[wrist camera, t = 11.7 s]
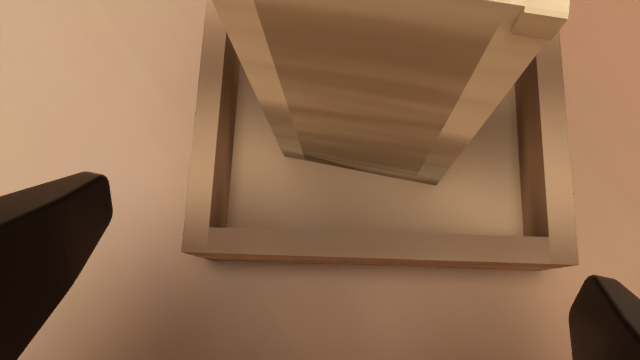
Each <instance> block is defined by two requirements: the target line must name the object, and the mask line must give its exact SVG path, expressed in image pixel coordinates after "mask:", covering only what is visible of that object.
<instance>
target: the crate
mask: <svg viewBox="0 0 640 360" xmlns="http://www.w3.org/2000/svg"><path fill="white" fill-rule="evenodd" d="M181 252H183V253H187V254H190V255H194V256H198V257H201V258H205V259H211V260H241V261H271V262H302V263H332V264H362V265H393V266H423V267H453V268H483V269H514V270H547V269H554V268H561V267H568V266H574V265H579V261H578V249H577V237H576V225H575V213H574V201H573V189H572V177H571V165H570V153H569V141H568V129H567V117H566V105H565V93H564V81H563V69H562V57H561V45H560V33H559V31H558V32H557V33H556V35H555V36H554V37H553V39H552V40H551V41H550V40H547V42H546V43H545V44H544V45H543V47H542V48H541V49H540V51H539V52H538V53H537V55H536V56H535V57H534V59H533V60H532V61H531V62H530V64H529V65H528V66H527V68H526V69H525V70H524V72H523V73H522V74H521V76H520V77H519V78H518V79H517V81H516V82H515V83H514V85H513V86H512V87H511V89H510V90H509V91H508V92H507V94H506V95H505V96H504V98H503V99H502V100H501V102H500V103H499V104H498V106H497V107H496V108H495V109H494V111H493V112H492V113H491V115H490V116H489V117H488V119H487V120H486V121H485V123H484V124H483V125H482V126H481V128H480V129H479V130H478V132H477V133H476V134H475V136H474V137H473V138H472V140H471V141H470V142H469V143H468V145H467V146H466V147H465V149H464V150H463V151H462V153H461V154H460V155H459V157H458V158H457V159H456V160H455V162H454V163H453V164H452V166H451V167H450V168H449V170H448V171H447V172H446V174H445V175H444V176H443V177H442V179H441V180H440V181H439V183H438V184H437V185H436V186H435V185H430V184H425V183H419V182H414V181H409V180H404V179H399V178H393V177H388V176H383V175H378V174H373V173H367V172H362V171H357V170H352V169H347V168H342V167H336V166H331V165H326V164H321V163H316V162H310V161H305V160H300V159H295V158H290V157H285V156H284V155H283V152H282V150H281V148H280V146H279V144H278V142H277V140H276V137H275V135H274V133H273V131H272V129H271V127H270V125H269V122H268V120H267V118H266V116H265V114H264V112H263V109H262V107H261V105H260V103H259V101H258V99H257V97H256V94H255V92H254V90H253V88H252V86H251V84H250V82H249V79H248V77H247V75H246V73H245V71H244V69H243V66H242V64H241V62H240V60H239V58H238V56H237V54H236V51H235V49H234V47H233V45H232V43H231V41H230V38H229V36H228V34H227V32H226V30H225V28H224V26H223V23H222V21H221V19H220V17H219V15H218V13H217V11H216V8H215V6H214V4H213V2H212V0H207V3H206V13H205V23H204V33H203V43H202V53H201V63H200V73H199V82H198V92H197V102H196V112H195V122H194V132H193V142H192V152H191V162H190V172H189V182H188V192H187V202H186V211H185V221H184V231H183V241H182V251H181Z"/></svg>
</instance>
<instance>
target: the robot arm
mask: <svg viewBox="0 0 640 360" xmlns="http://www.w3.org/2000/svg"><path fill="white" fill-rule="evenodd" d="M112 213H113V208H112V201H111V194H110V186H109V181H108V179H107V177H106V176H104V175H102V174H97V173H92V172H81V173H77V174H74V175H71V176H67V177H64V178H61V179H57V180H54V181H51V182H47V183H44V184H41V185H37V186H34V187H31V188H27V189H24V190H20V191H17V192H14V193H10V194H7V195H4V196H0V360H17V359H18V358H19V356H20V355H21V354H22V352H23V351H24V350H25V348H26V347H27V346H28V344H29V343H30V342H31V340H32V339H33V338H34V336H35V335H36V334H37V332H38V331H39V330H40V328H41V327H42V326H43V324H44V323H45V322H46V320H47V319H48V318H49V316H50V315H51V314H52V312H53V311H54V310H55V308H56V307H57V306H58V304H59V303H60V302H61V300H62V299H63V298H64V296H65V295H66V293H67V292H68V291H69V289H70V288H71V286H72V285H73V283H74V282H75V280H76V279H77V277H78V276H79V274H80V272H81V271H82V269H83V267H84V266H85V264H86V262H87V260H88V259H89V257H90V255H91V254H92V252H93V250H94V249H95V247H96V245H97V244H98V242H99V240H100V239H101V237H102V235H103V233H104V232H105V230H106V228H107V227H108V225H109V223H110V221H111V218H112ZM569 328H570V338H571V348H572V357H573V360H640V299H639V298H638V297H636V296H635V295H634V294H633V293H632V292H630V291H629V290H628V289H627V288H626V287H624V286H623V285H622V284H621V283H620V282H618V281H617V280H615V279H612V278H607V277H602V276H597V275H591V276H589V277H588V278H587V279H586V280H585V281H584V283H583V285H582V287H581V289H580V291H579V293H578V295H577V297H576V299H575V301H574V302H573V304H572V306H571V309H570V312H569Z"/></svg>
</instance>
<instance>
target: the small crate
mask: <svg viewBox="0 0 640 360" xmlns="http://www.w3.org/2000/svg"><path fill="white" fill-rule="evenodd" d="M212 2H213V4H214V6H215V8H216V11H217V13H218V15H219V17H220V19H221V21H222V23H223V26H224V28H225V30H226V32H227V34H228V36H229V38H230V41H231V43H232V45H233V47H234V49H235V51H236V54H237V56H238V58H239V60H240V62H241V64H242V66H243V69H244V71H245V73H246V75H247V77H248V79H249V82H250V84H251V86H252V88H253V90H254V92H255V94H256V97H257V99H258V101H259V103H260V105H261V107H262V109H263V112H264V114H265V116H266V118H267V120H268V122H269V125H270V127H271V129H272V131H273V133H274V135H275V137H276V140H277V142H278V144H279V146H280V148H281V150H282V152H283V155H284V156H285V157H290V158H295V159H300V160H305V161H310V162H316V163H321V164H326V165H331V166H336V167H342V168H347V169H352V170H357V171H362V172H367V173H373V174H378V175H383V176H388V177H393V178H399V179H404V180H409V181H414V182H419V183H425V184H430V185H435V186H436V185H437V184H438V183H439V181H440V180H441V179H442V177H443V176H444V175H445V174H446V172H447V171H448V170H449V168H450V167H451V166H452V164H453V163H454V162H455V160H456V159H457V158H458V157H459V155H460V154H461V153H462V151H463V150H464V149H465V147H466V146H467V145H468V143H469V142H470V141H471V140H472V138H473V137H474V136H475V134H476V133H477V132H478V130H479V129H480V128H481V126H482V125H483V124H484V123H485V121H486V120H487V119H488V117H489V116H490V115H491V113H492V112H493V111H494V109H495V108H496V107H497V106H498V104H499V103H500V102H501V100H502V99H503V98H504V96H505V95H506V94H507V92H508V91H509V90H510V89H511V87H512V86H513V85H514V83H515V82H516V81H517V79H518V78H519V77H520V76H521V74H522V73H523V72H524V70H525V69H526V68H527V66H528V65H529V64H530V62H531V61H532V60H533V59H534V57H535V56H536V55H537V53H538V52H539V51H540V49H541V48H542V47H543V45H544V44H545V43H546V42H547V40H550V41H551V40H552V39H553V37H554V36H555V35H556V33H557V32H558V31H559V30H560V28H561V27H562V26H563V25H564V23H565V22H566V21H567V19H568V13H569V4H570V0H212Z"/></svg>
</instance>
